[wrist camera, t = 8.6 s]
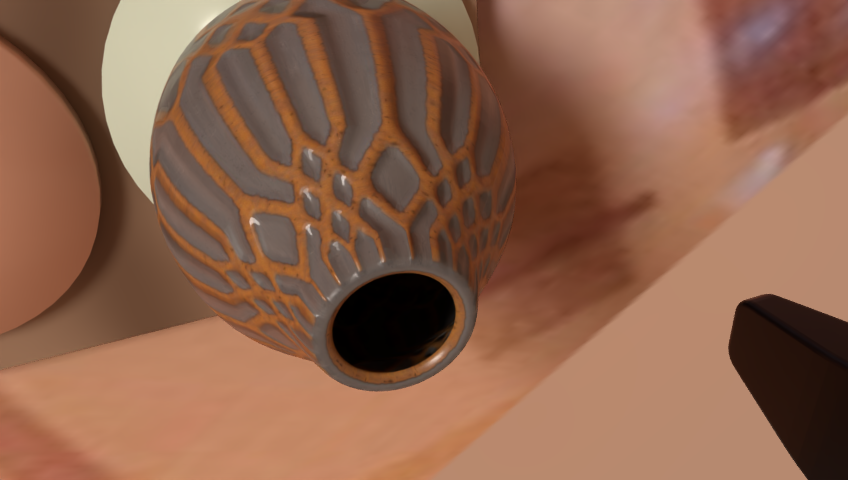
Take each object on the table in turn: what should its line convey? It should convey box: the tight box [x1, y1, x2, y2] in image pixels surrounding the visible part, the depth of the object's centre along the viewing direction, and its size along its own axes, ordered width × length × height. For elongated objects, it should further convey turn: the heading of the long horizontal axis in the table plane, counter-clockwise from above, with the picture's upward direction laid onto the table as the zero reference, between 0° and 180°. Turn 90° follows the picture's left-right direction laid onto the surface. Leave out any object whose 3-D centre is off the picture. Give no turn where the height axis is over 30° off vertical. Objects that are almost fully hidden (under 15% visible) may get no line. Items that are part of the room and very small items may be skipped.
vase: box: [149, 0, 516, 391], centre depth 13 cm, size 7×7×9 cm
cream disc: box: [102, 0, 480, 204], centre depth 17 cm, size 9×9×1 cm
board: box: [0, 0, 480, 370], centre depth 17 cm, size 19×12×1 cm, turn 97°
